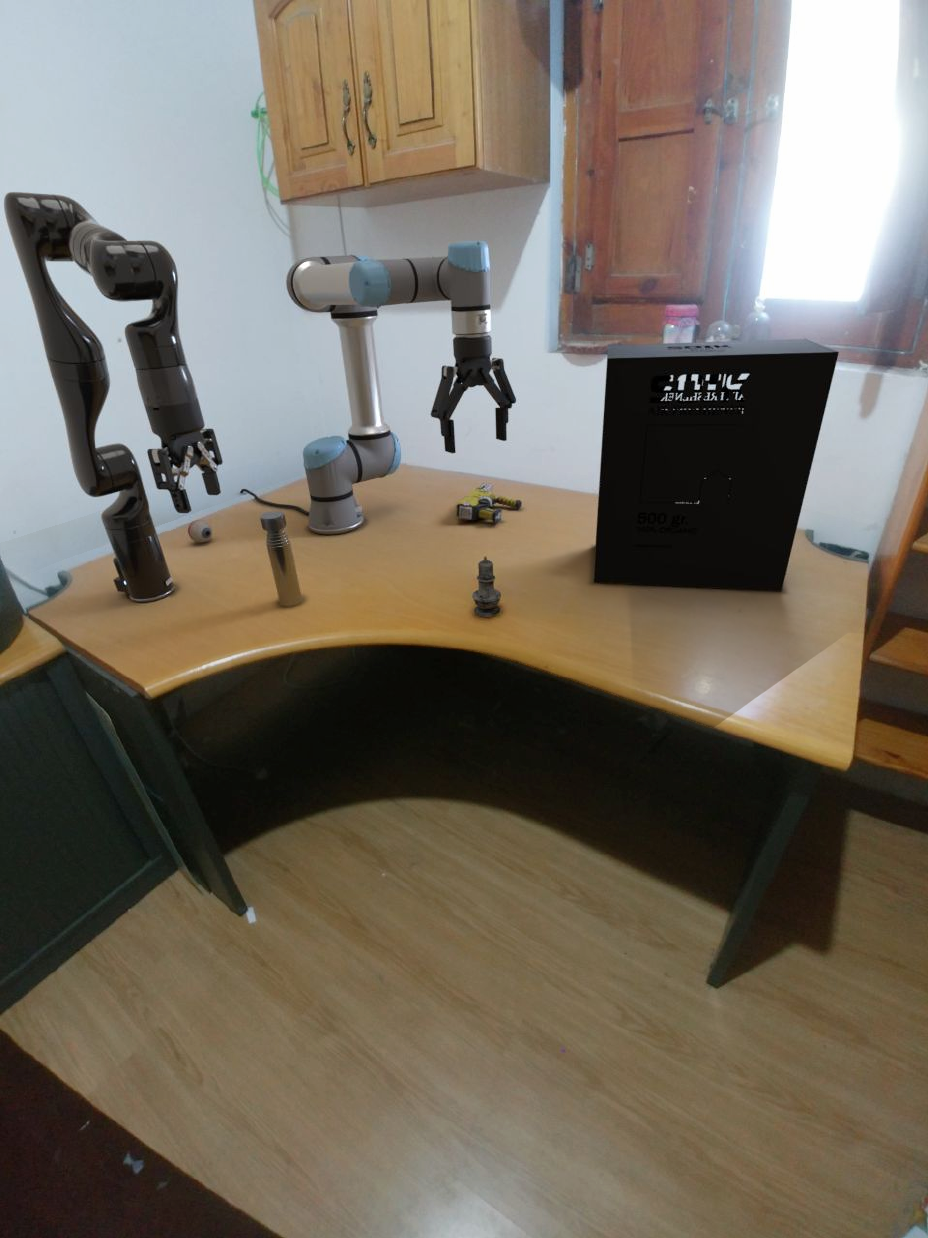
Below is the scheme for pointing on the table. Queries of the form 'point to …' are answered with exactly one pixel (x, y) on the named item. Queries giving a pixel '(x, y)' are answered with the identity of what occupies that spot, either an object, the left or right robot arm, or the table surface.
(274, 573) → the bottle
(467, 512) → the toy gun
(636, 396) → the cardboard box
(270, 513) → the cap
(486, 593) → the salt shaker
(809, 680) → the table surface
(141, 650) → the table surface
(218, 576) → the table surface
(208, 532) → the eyeball
